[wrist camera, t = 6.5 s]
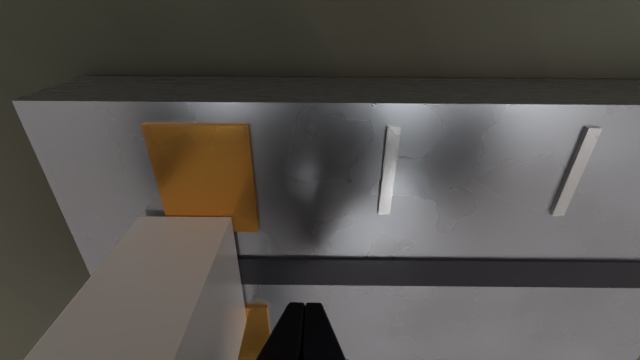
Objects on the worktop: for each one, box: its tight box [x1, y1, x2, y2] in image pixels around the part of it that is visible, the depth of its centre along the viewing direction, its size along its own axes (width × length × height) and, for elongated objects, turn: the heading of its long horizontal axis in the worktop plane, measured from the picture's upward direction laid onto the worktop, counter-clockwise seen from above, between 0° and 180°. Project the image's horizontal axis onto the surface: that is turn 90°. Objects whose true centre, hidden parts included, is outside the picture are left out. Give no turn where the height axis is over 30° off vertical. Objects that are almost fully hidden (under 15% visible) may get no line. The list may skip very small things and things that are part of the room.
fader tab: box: [23, 216, 247, 360], centre depth 8 cm, size 4×2×5 cm, turn 0°
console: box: [12, 76, 640, 360], centre depth 11 cm, size 10×18×3 cm, turn 90°
